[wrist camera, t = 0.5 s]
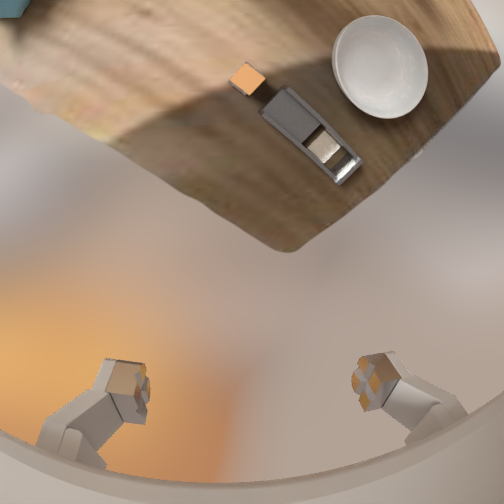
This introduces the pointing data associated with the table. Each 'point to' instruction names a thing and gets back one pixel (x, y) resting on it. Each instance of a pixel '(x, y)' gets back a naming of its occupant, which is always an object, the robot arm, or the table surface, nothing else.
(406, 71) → the serving bowl
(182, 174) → the table surface
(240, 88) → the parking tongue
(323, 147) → the rail
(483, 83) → the table surface
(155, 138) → the table surface
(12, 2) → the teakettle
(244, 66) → the block
